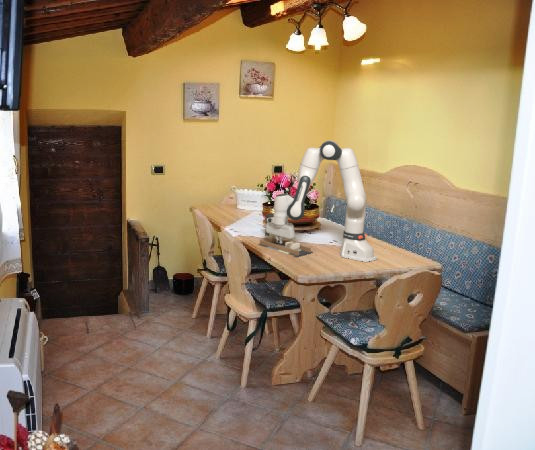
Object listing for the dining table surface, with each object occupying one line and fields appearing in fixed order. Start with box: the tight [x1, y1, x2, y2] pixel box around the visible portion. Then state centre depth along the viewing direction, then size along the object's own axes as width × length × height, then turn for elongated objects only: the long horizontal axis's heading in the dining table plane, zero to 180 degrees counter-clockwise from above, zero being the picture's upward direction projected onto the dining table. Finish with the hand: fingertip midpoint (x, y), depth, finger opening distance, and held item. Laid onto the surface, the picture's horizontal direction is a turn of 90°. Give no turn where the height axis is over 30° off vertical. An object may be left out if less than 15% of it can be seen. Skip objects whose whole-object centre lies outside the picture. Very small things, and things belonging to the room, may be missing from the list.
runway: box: [257, 236, 314, 258], centre depth 323 cm, size 30×16×4 cm, turn 47°
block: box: [285, 240, 301, 251], centre depth 319 cm, size 6×6×4 cm
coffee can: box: [264, 212, 276, 238], centre depth 353 cm, size 10×10×14 cm
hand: (279, 242), depth 326 cm, fingers closed
